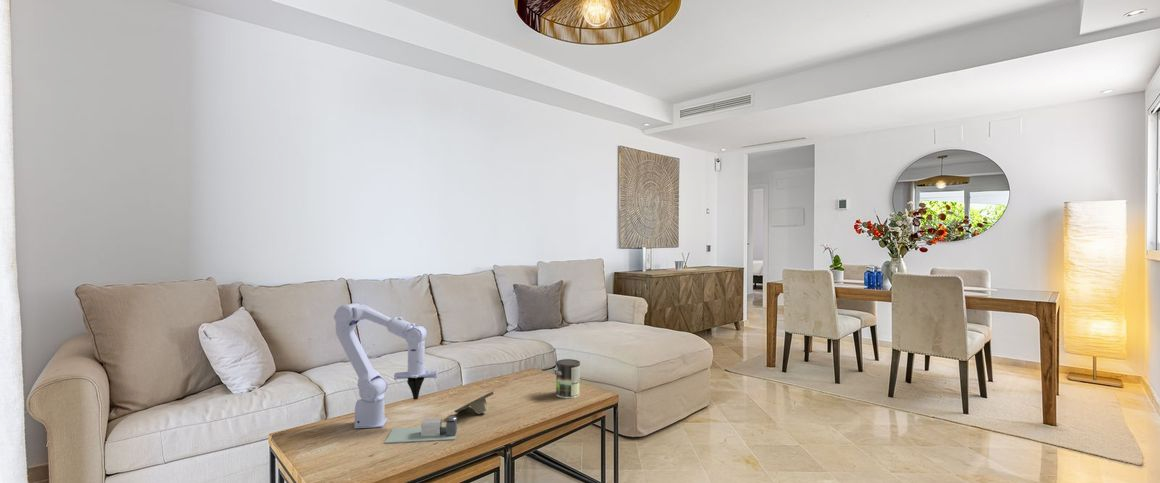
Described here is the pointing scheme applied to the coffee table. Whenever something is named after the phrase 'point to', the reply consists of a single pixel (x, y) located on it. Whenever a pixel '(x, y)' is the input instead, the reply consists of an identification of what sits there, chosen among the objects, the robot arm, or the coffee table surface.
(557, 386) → the coffee can
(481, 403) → the grey slanted panel
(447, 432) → the coupler
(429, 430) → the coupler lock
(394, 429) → the mat
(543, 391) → the coffee table surface
